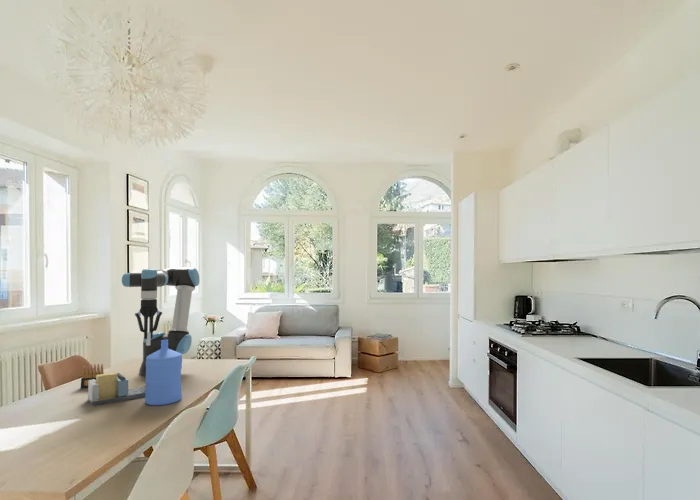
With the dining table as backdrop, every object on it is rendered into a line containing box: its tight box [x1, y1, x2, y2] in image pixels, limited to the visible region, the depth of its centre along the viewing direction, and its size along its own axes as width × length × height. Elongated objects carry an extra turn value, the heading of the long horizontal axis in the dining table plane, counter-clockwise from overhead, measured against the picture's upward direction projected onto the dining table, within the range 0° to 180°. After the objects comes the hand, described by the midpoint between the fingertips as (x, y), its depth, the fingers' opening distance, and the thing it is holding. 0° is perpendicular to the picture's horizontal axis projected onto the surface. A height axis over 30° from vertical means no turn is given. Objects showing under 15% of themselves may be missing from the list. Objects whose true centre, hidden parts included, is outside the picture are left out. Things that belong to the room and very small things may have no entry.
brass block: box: [96, 372, 118, 398], centre depth 195 cm, size 8×4×10 cm, turn 129°
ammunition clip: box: [80, 363, 105, 389], centre depth 217 cm, size 11×2×12 cm, turn 98°
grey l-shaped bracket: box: [87, 379, 146, 407], centre depth 199 cm, size 26×12×9 cm, turn 129°
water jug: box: [144, 340, 183, 406], centre depth 194 cm, size 16×16×28 cm
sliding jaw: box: [116, 372, 129, 397], centre depth 198 cm, size 4×12×8 cm, turn 39°
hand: (148, 345), depth 213 cm, fingers closed
